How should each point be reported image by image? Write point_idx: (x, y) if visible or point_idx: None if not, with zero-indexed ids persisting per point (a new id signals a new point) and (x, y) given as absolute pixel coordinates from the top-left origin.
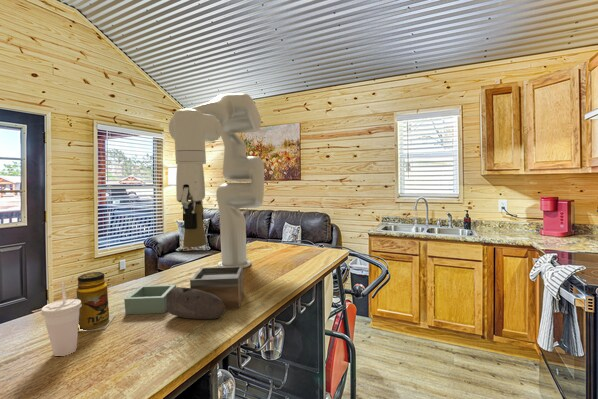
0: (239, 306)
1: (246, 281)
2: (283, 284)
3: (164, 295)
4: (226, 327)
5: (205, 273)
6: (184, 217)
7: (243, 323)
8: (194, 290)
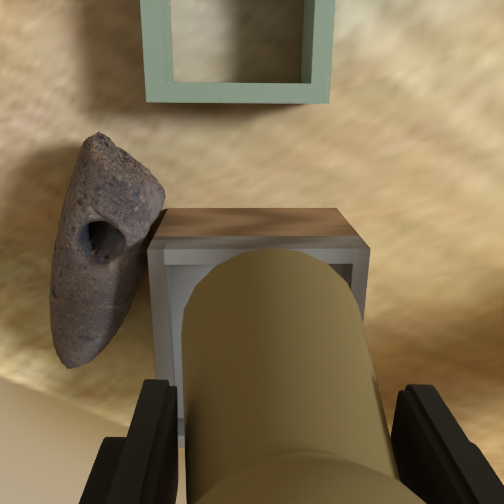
0: None
1: (466, 359)
2: None
3: (171, 98)
4: (38, 351)
5: (343, 265)
6: (114, 487)
7: (67, 393)
8: (83, 277)
